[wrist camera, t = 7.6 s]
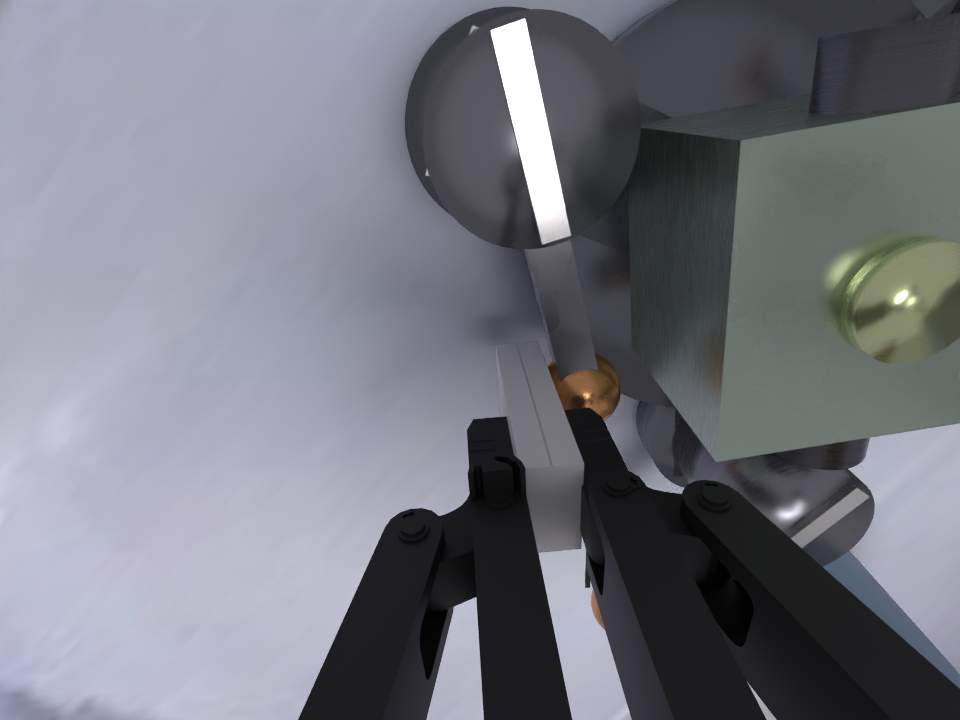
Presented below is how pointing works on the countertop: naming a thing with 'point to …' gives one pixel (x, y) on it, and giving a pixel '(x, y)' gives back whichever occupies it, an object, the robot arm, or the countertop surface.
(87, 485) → the countertop surface
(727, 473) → the foot screw
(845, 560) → the bottle
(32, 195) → the countertop surface
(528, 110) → the foot screw
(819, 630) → the robot arm
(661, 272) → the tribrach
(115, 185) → the countertop surface
